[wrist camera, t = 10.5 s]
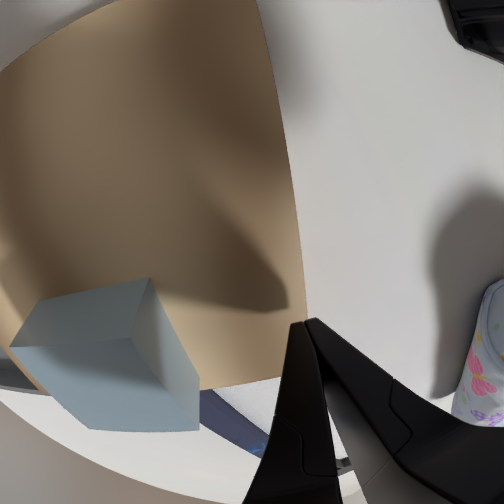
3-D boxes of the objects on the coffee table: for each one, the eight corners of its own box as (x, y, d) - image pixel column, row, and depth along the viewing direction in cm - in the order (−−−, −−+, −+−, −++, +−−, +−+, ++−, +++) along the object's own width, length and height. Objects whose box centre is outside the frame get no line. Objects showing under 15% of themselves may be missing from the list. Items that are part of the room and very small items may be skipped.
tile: (149, 277, 8) (129, 337, 6) (199, 377, 10) (199, 430, 8) (38, 301, 8) (8, 347, 6) (100, 384, 10) (88, 428, 8)
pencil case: (489, 366, 23) (521, 415, 14) (439, 404, 24) (467, 460, 16) (520, 243, 13) (596, 312, 5) (451, 305, 14) (529, 407, 6)
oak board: (239, 1, 6) (246, -31, 4) (297, 329, 13) (311, 368, 11) (-48, 151, 6) (-79, 165, 4) (54, 362, 13) (41, 392, 11)
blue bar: (386, 458, 28) (312, 487, 29) (381, 447, 30) (308, 476, 31) (370, 329, 12) (155, 412, 13) (351, 301, 14) (158, 381, 14)
